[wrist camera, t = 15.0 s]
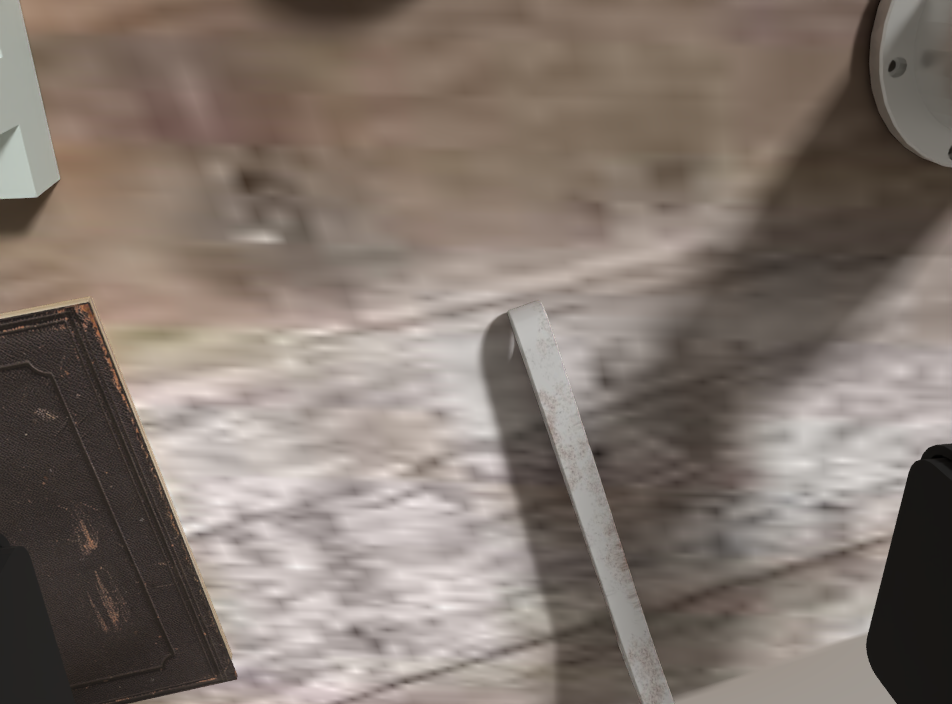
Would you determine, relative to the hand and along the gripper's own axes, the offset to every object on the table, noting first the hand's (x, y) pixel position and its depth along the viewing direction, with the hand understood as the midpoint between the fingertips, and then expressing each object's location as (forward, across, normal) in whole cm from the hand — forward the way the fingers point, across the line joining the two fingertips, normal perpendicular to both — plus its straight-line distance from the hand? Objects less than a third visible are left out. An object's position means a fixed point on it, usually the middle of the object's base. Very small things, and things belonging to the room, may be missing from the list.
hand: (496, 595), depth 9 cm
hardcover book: (+31, +20, +20) cm, 42 cm away
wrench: (+31, -10, +23) cm, 40 cm away
